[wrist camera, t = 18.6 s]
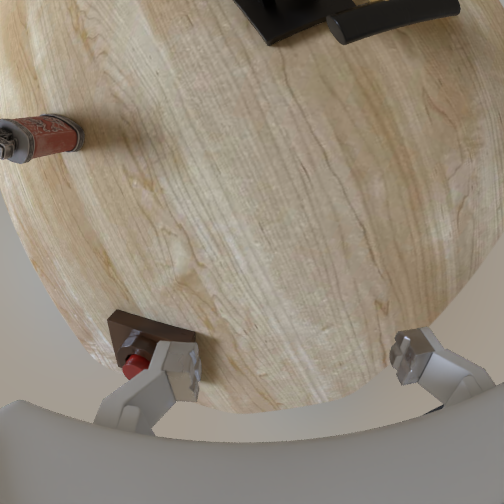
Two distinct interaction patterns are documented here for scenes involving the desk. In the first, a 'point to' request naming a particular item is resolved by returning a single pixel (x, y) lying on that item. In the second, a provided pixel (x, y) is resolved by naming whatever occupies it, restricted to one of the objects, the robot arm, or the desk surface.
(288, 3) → the switch bracket
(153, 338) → the button box
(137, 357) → the light button
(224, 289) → the desk surface
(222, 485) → the robot arm
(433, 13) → the switch lever
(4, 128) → the lighter
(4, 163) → the desk surface
